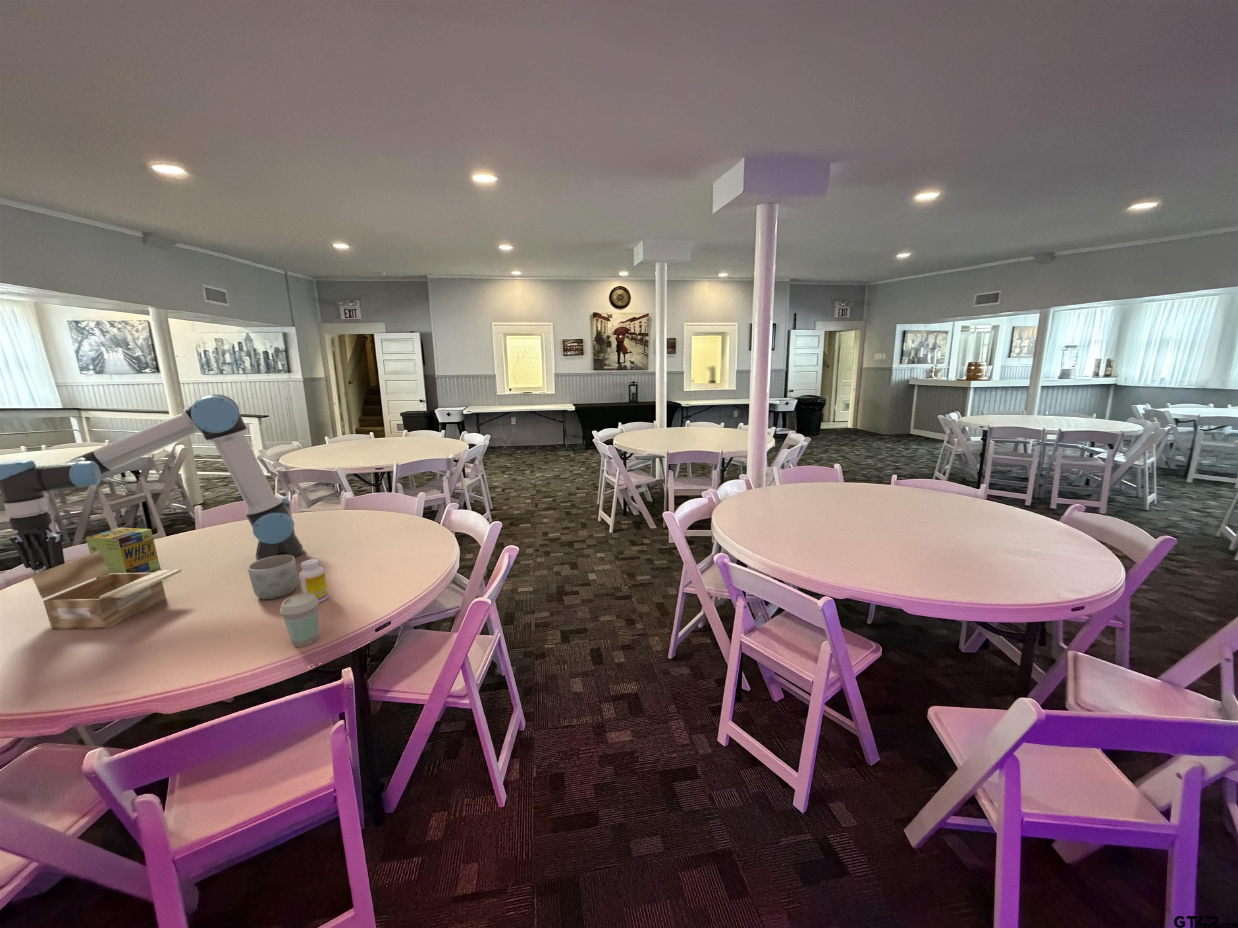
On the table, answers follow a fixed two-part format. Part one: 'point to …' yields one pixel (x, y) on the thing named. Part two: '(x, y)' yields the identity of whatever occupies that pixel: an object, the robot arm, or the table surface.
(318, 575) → the supplement bottle
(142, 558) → the protein box
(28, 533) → the robot arm
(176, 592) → the table surface
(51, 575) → the open flap
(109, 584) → the light wood open box
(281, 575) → the planter
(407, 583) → the table surface
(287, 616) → the coffee cup
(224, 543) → the table surface
